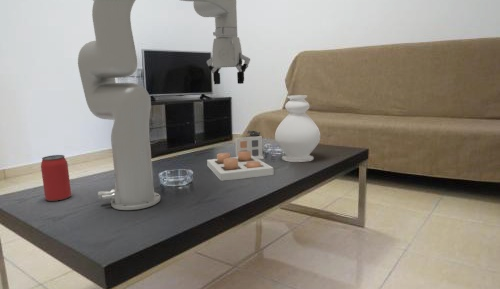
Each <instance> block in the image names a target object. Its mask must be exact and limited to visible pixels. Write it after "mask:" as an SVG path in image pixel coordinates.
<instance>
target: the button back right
mask: <svg viewBox="0 0 500 289" xmlns="http://www.w3.org/2000/svg"><path fill="white" fill-rule="evenodd" d="M238 161H251V151H239V152H238Z"/></svg>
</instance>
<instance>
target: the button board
mask: <svg viewBox="0 0 500 289" xmlns="http://www.w3.org/2000/svg"><path fill="white" fill-rule="evenodd" d="M230 158H237V159H238V157H236V156H234V157H231V156H230ZM251 161H258V162H260V167H256V168H247V166H246V163H247V162H250V161H238V169H235V170H225V169H224V164H220V163H217V158H213V159H206V163H207V164H206V165H207V167H208V169H210V170H211V172H212V173H213V174H214V175H215V176H216V177H217V178H218V180H219V181H220V182H224V181H234V180H242V179H249V178H250V179H251V178H261V177H266V176H267V177H268V176H274V175H275V174H274V167H273V166H271V165H269V164H267V163H266V162H264V161H262V159H260V160H259V159H257V158H256V157H254V156H251Z"/></svg>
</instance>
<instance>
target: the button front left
mask: <svg viewBox="0 0 500 289" xmlns="http://www.w3.org/2000/svg"><path fill="white" fill-rule="evenodd" d="M224 169H225V170H235V169H238V159H237V158H231V157H230V158H227V159H224Z"/></svg>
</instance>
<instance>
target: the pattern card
mask: <svg viewBox="0 0 500 289" xmlns="http://www.w3.org/2000/svg"><path fill="white" fill-rule="evenodd" d="M234 142H235V144H234V145H235V157H238V152H239V151H251V156H254V157H256V158H257V159H259V160H264V159H265V157H264V156H263V154H262V149H263V138H262V135H260V136H258V137H246V136H245V137H236V138H234Z"/></svg>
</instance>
